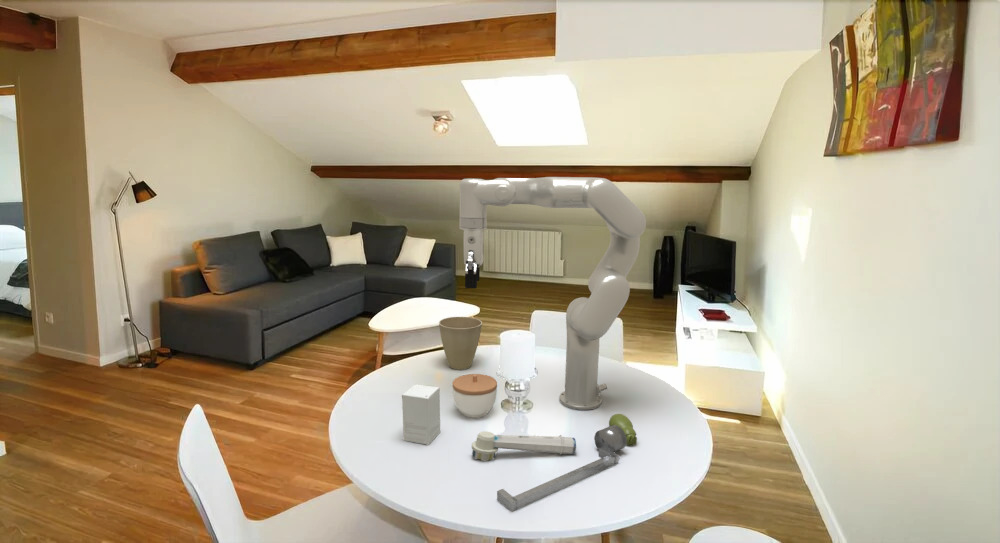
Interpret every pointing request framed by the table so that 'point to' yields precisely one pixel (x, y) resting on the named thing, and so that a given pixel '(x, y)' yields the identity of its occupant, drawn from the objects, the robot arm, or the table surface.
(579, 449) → the table surface
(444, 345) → the plant pot
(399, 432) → the table surface
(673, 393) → the table surface
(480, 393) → the lidded bowl
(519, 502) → the ladle
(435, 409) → the supplement box
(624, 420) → the pear
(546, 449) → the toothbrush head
